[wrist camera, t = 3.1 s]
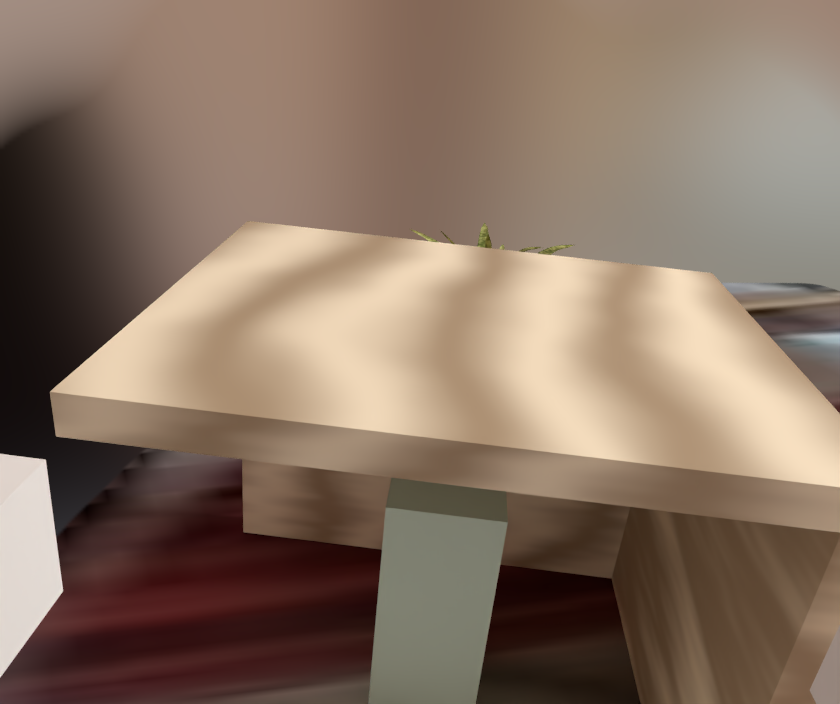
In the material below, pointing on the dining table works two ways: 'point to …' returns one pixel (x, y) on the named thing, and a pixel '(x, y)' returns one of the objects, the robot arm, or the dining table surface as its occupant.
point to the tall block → (435, 591)
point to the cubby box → (510, 429)
